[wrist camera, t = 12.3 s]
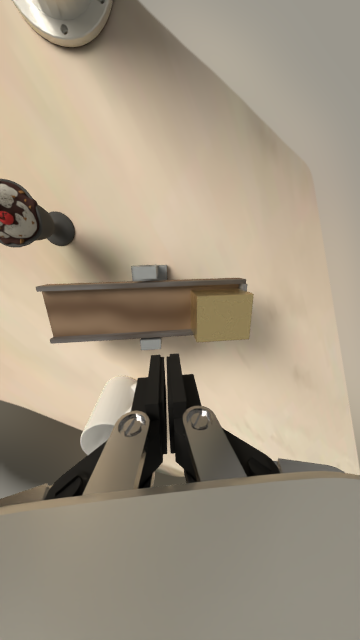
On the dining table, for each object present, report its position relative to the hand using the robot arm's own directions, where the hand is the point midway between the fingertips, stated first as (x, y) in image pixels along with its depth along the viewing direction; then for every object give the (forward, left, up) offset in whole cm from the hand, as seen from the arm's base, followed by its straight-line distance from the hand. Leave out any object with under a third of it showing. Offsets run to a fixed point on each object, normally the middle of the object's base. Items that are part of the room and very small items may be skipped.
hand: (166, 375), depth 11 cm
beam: (0, -2, -21) cm, 21 cm away
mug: (+19, -8, -25) cm, 32 cm away
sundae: (-12, -16, -25) cm, 32 cm away
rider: (+1, +7, -17) cm, 18 cm away
